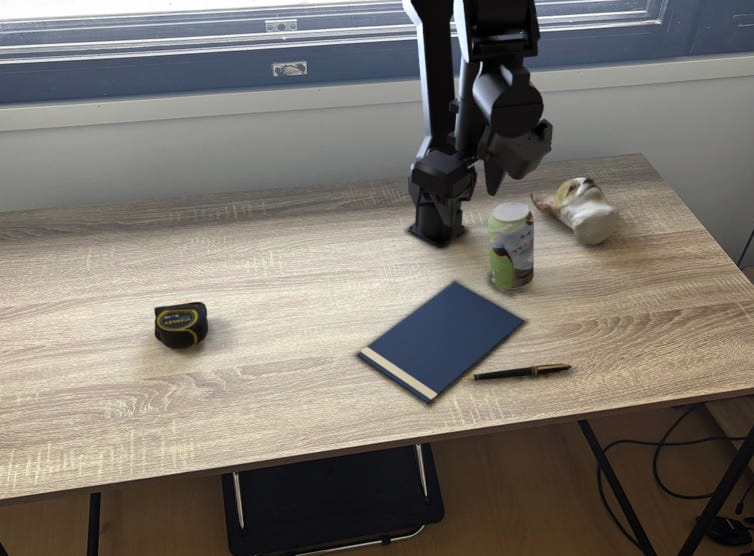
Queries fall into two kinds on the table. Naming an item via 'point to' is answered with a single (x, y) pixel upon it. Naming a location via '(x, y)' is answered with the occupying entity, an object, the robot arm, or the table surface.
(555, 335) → the table surface
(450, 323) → the blue hardcover notebook
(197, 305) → the tape measure
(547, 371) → the fountain pen
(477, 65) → the robot arm
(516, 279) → the beverage can
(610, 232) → the ceramic sculpture
